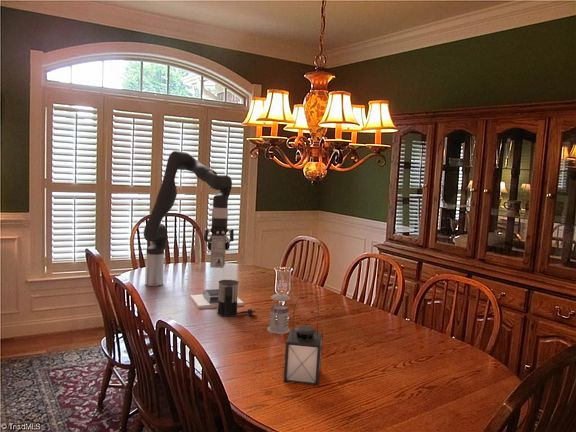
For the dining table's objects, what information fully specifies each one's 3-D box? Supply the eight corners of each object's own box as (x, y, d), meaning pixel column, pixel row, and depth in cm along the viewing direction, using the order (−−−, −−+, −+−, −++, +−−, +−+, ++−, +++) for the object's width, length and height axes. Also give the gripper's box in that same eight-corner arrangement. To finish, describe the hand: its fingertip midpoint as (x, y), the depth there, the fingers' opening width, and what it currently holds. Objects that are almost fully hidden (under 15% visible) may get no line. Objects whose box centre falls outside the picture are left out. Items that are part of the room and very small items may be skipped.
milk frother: (214, 311, 215) (215, 279, 213) (246, 308, 222) (247, 277, 220) (224, 321, 202) (225, 287, 201) (258, 317, 209) (259, 285, 208)
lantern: (283, 382, 148) (288, 296, 145) (287, 367, 159) (292, 287, 156) (318, 386, 147) (324, 299, 144) (320, 371, 158) (326, 290, 155)
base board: (198, 308, 217) (198, 305, 217) (190, 298, 233) (190, 295, 233) (243, 305, 226) (243, 302, 226) (232, 295, 242) (232, 292, 242)
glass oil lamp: (293, 327, 199) (296, 269, 196) (285, 336, 188) (289, 275, 185) (271, 324, 202) (274, 267, 199) (262, 333, 190) (265, 272, 188)
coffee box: (212, 263, 232) (213, 231, 231) (225, 264, 233) (226, 232, 231) (209, 267, 223) (211, 234, 222) (223, 268, 224) (224, 234, 222)
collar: (209, 303, 221) (209, 297, 221) (202, 295, 234) (202, 289, 233) (230, 302, 226) (231, 295, 225) (223, 294, 238) (223, 288, 238)
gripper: (231, 216, 232) (230, 248, 234) (203, 215, 226) (202, 249, 228) (236, 217, 225) (234, 251, 227) (207, 217, 219) (205, 251, 221)
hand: (218, 250), depth 227 cm, fingers closed on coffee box, 8 cm apart
